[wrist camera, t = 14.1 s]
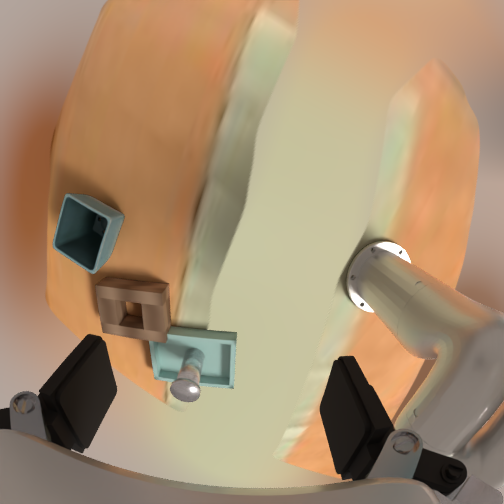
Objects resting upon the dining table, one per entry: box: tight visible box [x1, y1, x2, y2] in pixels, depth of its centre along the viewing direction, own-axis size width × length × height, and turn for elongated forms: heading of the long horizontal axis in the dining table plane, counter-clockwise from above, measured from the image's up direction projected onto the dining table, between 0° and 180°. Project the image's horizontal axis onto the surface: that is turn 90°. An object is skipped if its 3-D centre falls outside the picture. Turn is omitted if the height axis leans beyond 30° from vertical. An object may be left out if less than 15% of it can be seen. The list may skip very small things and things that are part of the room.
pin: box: [170, 348, 205, 402], centre depth 41 cm, size 5×5×10 cm
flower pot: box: [53, 193, 125, 274], centre depth 36 cm, size 9×9×9 cm
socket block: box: [95, 277, 171, 343], centre depth 42 cm, size 12×9×4 cm
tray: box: [149, 326, 237, 388], centre depth 45 cm, size 15×11×3 cm
